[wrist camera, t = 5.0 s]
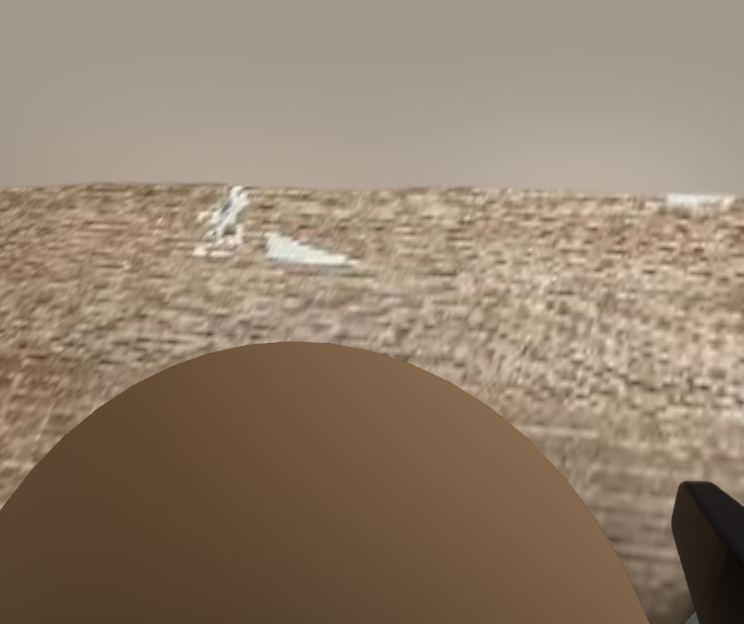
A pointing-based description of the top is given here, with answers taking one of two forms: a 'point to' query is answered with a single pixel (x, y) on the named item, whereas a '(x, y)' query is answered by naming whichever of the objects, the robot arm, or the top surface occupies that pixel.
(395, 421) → the leg
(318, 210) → the top surface
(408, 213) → the top surface
